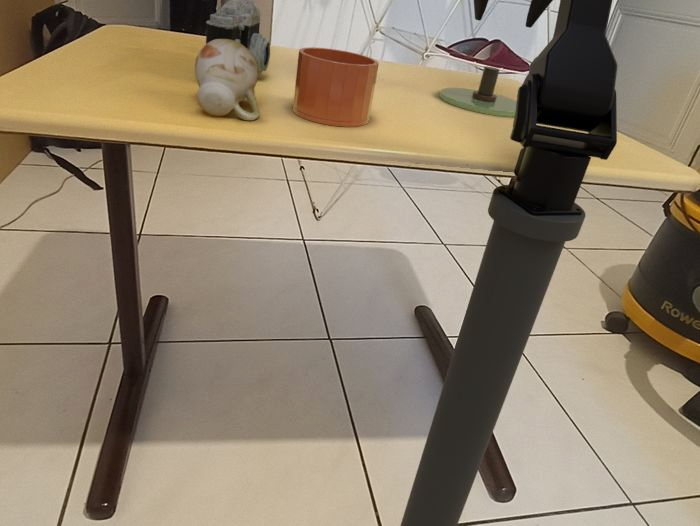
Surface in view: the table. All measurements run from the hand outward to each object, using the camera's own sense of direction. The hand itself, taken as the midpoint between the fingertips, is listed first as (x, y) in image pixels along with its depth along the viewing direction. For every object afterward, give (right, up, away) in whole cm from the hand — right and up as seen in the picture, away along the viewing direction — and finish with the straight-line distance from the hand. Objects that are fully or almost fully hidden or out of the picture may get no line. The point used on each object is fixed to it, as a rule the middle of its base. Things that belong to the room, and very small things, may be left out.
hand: (503, 23), depth 84 cm
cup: (-25, -18, -15) cm, 35 cm away
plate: (-2, -10, +6) cm, 12 cm away
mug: (-37, -18, -20) cm, 46 cm away
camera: (-39, -10, -4) cm, 40 cm away
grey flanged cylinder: (-2, -10, +5) cm, 11 cm away
